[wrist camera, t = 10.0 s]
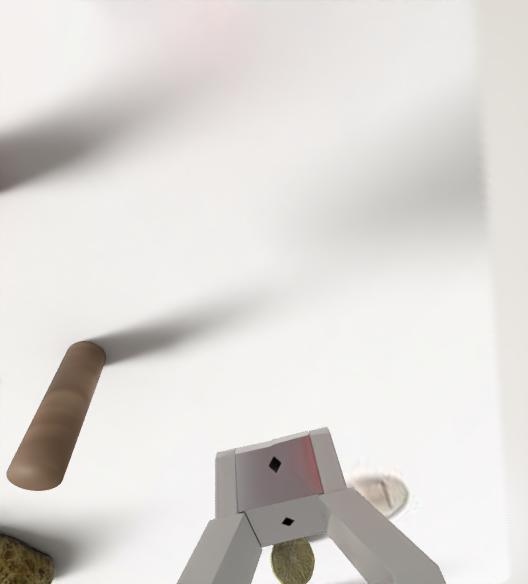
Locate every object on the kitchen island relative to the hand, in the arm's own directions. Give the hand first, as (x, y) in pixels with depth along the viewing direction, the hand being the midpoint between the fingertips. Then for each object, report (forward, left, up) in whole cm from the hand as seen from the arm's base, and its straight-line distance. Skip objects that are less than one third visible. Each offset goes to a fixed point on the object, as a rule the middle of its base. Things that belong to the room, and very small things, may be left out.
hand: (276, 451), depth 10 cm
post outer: (+6, -13, -15) cm, 21 cm away
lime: (+40, -4, -15) cm, 43 cm away
